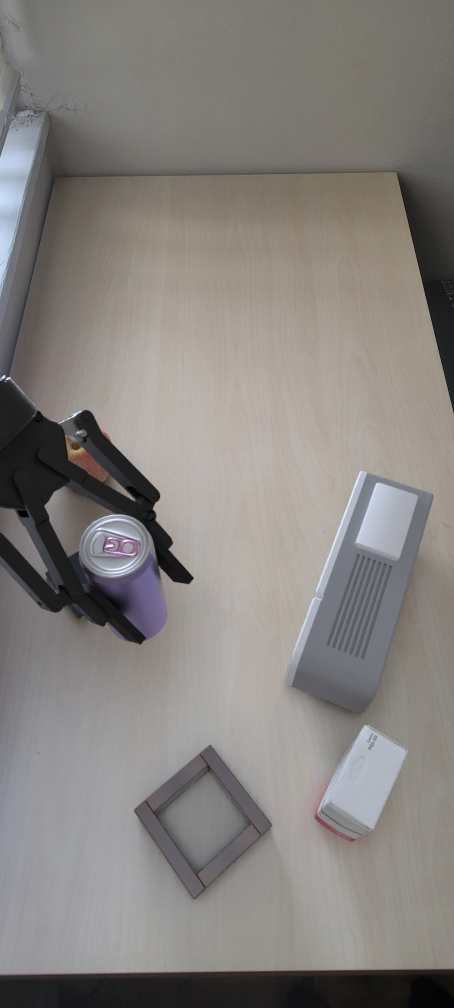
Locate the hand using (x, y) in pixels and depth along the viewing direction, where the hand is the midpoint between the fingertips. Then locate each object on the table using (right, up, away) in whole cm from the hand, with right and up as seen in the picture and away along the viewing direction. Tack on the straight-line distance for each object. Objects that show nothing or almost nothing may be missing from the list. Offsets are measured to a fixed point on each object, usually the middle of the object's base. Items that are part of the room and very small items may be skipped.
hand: (160, 608), depth 56 cm
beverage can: (-3, -2, +7) cm, 8 cm away
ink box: (+19, -23, +14) cm, 33 cm away
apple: (-14, +13, +37) cm, 42 cm away
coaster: (-12, -1, +28) cm, 30 cm away
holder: (+3, -25, +13) cm, 28 cm away
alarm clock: (+22, -4, +26) cm, 34 cm away
